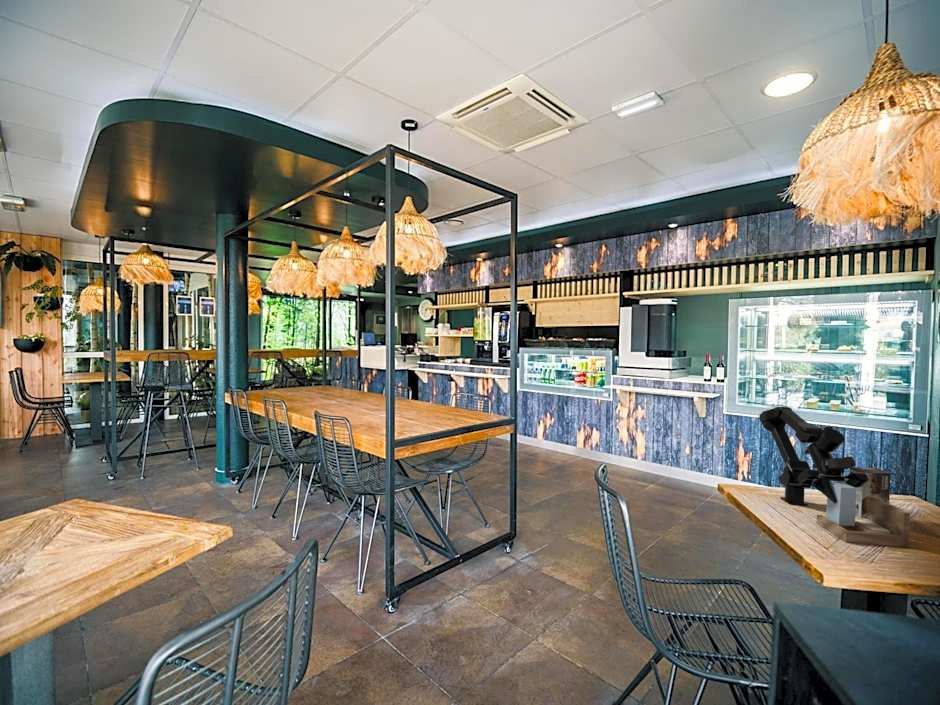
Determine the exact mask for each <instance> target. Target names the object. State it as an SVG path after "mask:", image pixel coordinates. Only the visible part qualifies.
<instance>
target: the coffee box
mask: <svg viewBox="0 0 940 705" xmlns="http://www.w3.org/2000/svg"><path fill="white" fill-rule="evenodd" d="M851 472H862V473H865V474H866V475H867V477H868V478H869V480H868V481H867V482H866V483H865V484H864V485H862V486H861V487H859V488H857V492H856V510H855V516H857V517H858V518H860V519H861V518H862V519H868V513H869V497H875V498H877V499H879V500H881V501H884V502H886V503H888V504H890V494H891V493H890V492H891V472H887V471H885V470H883V469H881V468H879V467H878V468H877V467H862V466H861V467H858V466H855V467H851V469H849V474H850V473H851Z"/></svg>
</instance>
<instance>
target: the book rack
mask: <svg viewBox="0 0 940 705" xmlns="http://www.w3.org/2000/svg"><path fill="white" fill-rule="evenodd" d="M910 515H911V513H909V512H908V511H905V510H903V509H900V508H899V507H896V506H894V505H893V504H890V503H889V504H888V503H886V502H884V501H881V500H879V499H877V498H875V497H869V513H868V518H867V520H865V519H855V526H845V525H838V524H836V523H835V522H833V521H831V520H830V519H828V518H826V516H825V515H822V514H816V521H815V522H816V525H818V526H819V527H821V528H822V529H824V530H826V531H827V532H828V533H831V534H833V536H834V537H836V538H838V539H840V540H842V541H843V542H845V543H851V544H866V545H879V546H895V547H907V548H908V547H909V537H910V534H909V533H910V522H911V521H910V518H911V516H910Z"/></svg>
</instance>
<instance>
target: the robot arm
mask: <svg viewBox="0 0 940 705" xmlns="http://www.w3.org/2000/svg"><path fill="white" fill-rule="evenodd" d="M758 418H759V421H760V422H761V425H762V427H763V428H764V429H766V431H768V432H770V433H771V436H772V438H773V440H774V442H775V445H776V447H777V448H778V451H779V453H780V456H781V458H782V461H783V462H784V465H783V469H782V474H781V475H779V477H778V482H779V484H781V485H782V486H784V496H780V499H781V500H782V499H783V500H782V501H784V502H786V503H787V502H788V503H787V504H789V505H796V504H800V506H808V505H809V503H808V502H806V501H805V489H812V488H815V489H816V490H818V491H819V493H820V492H821V493H822V495H824V496H825V497H826V498H827V497H828V498H829V499H830V500H831V501H832V502H834V503H837V500H836V497H835V495H834V493H833V491H832V489H831V486H830V482H844V483H846V484H848V485H850V486H852V487H855V488H859V487H861V486H862V485H864V484H865V483H866V482H867V481H868V480H869V478H868V477H867V475H866V474H865V473H862V472H851V473H850V472H849V473H848V474H847V475H843V474H844V473H845V472H846V470H850V469H851V467H857V466H856V465H857V464H856V461H855V459H854V457H853V456H845V457H833V455H832V453H833V452H835V451H836V450H837V449H838V448H839V447H840V446H841V445H842V444H843V443H844V442H845V440H846V438H845V436H844V434H842V433H841V432H840V431H838V430H836V429H834V428H833V426H825V427H824V428H822V427H820V426H818V425H815V424H812V423H808V422H807V421H806V420H805V419H803V418H802V417H801V416H800V415H798V413H796V412H795V411H793V409H792V407H789V406H776V407H774V408H771V409H767V410H763V411H762V412H761V413H760V414H759V417H758ZM786 425H787V426H789V427H790V428H791V429H792V430H793V431H795V434H794V436H795V437H796V439H798V441H799V442H800V443H801V444H802V443H803V444H809V445H807V446H806V449H805V451H804V454H805V455H809V456H810V458H811V460H812V462H813V465H812V469H811V467H810V464H809V463H808V461H806V460H804V461H803V460H801V459H800V458H799V456H798V454H797V452H796V450H795V447H794V445H793V443H792V441H791V439H790V437H789V434H788V433H787V431H786Z"/></svg>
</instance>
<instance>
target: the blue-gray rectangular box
mask: <svg viewBox="0 0 940 705" xmlns="http://www.w3.org/2000/svg"><path fill="white" fill-rule="evenodd" d="M829 482H830V486H831V489H832V491H833V493H834V495H835V497H836V500H837V503H834V502H832V501H831V500H830V499H829V498H828V497H827V496H826V512H825V517H826V518H828V519H829V520H831V521H833V522H835V523H836V524H838V525H845V526H855V520H856V515H855V510H856V492H857V488H855V487H852V486H850V485H848V484H846V483H844V482H838V481H829Z"/></svg>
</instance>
